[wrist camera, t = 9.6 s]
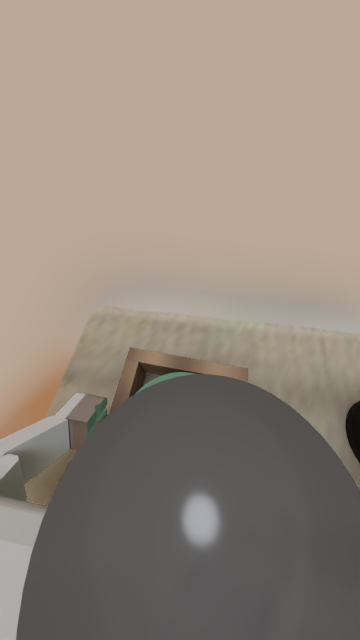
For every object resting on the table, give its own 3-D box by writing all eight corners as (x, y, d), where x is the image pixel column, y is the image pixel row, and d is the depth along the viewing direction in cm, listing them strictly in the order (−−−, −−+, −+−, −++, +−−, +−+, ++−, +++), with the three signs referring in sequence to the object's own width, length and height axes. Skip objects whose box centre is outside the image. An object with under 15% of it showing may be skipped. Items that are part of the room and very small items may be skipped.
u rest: (232, 377, 21) (248, 368, 17) (227, 489, 17) (247, 517, 12) (138, 360, 22) (129, 347, 18) (109, 463, 17) (87, 482, 13)
